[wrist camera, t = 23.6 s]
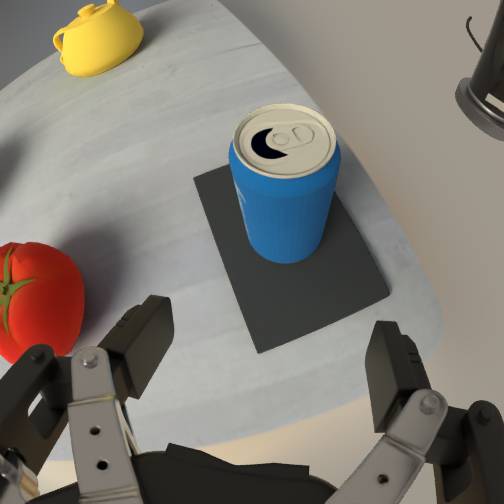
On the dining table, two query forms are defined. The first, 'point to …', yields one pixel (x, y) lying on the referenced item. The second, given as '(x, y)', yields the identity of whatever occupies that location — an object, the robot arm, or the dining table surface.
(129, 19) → the teapot
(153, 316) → the robot arm
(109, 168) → the dining table surface
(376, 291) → the place mat
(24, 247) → the tomato
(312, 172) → the beverage can
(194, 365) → the dining table surface
